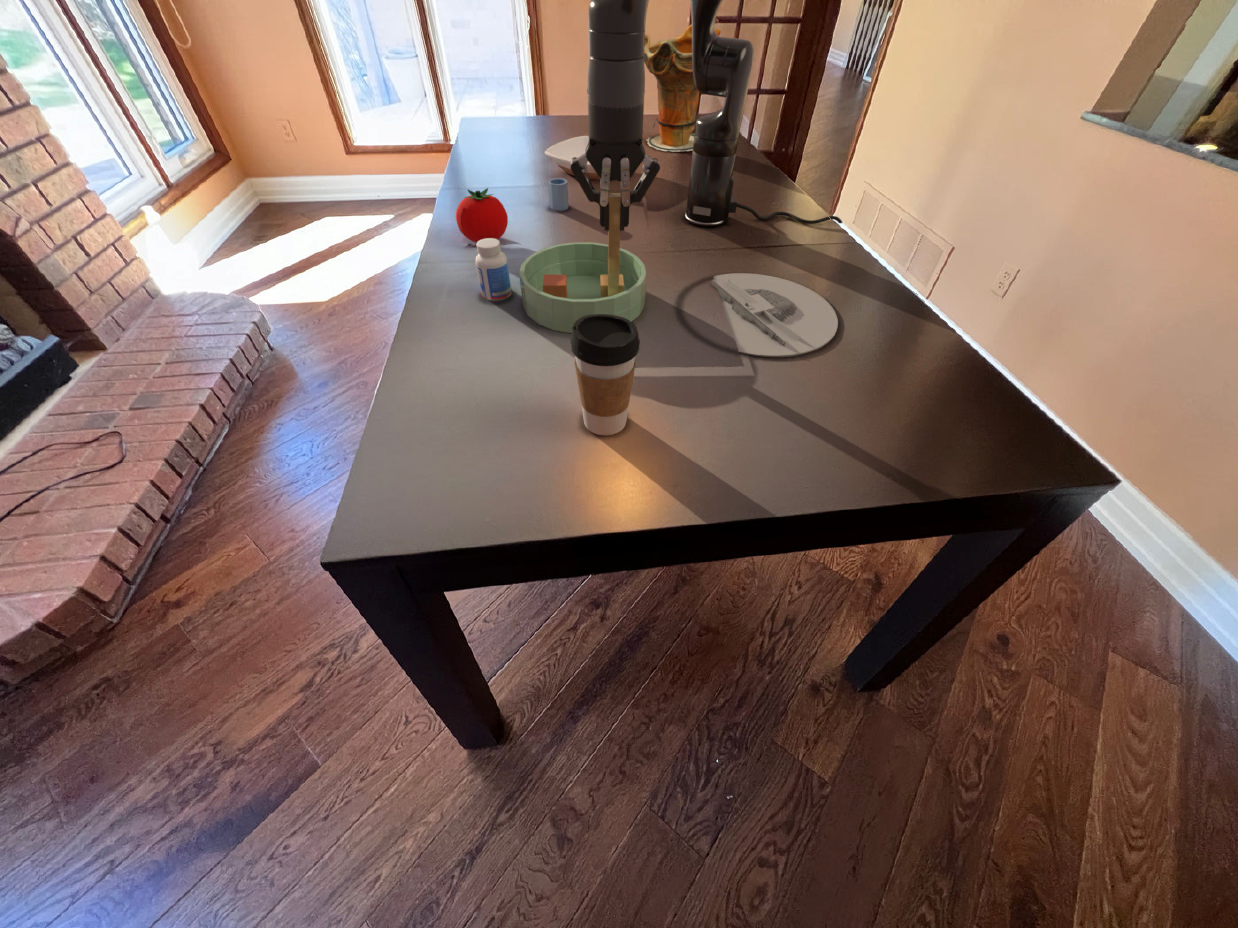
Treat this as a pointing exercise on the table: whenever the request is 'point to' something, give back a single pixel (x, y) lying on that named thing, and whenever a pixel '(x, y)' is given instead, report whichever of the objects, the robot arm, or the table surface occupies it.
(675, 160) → the table surface
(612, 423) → the coffee cup
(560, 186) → the stick holder
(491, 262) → the pill bottle
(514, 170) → the table surface
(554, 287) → the block
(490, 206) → the tomato
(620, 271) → the stir bowl
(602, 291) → the block
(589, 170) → the bowl
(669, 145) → the decorative vase
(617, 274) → the stick
